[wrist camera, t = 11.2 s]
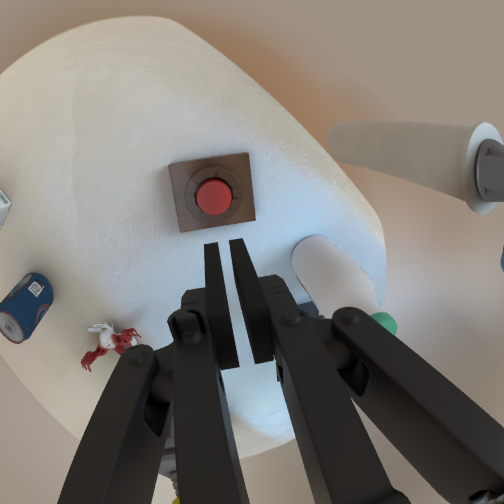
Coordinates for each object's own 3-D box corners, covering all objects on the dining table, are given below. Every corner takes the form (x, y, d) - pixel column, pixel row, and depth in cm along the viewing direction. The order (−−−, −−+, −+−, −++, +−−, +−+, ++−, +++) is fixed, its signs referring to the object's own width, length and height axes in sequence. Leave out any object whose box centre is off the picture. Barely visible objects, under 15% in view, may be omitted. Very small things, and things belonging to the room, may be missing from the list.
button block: (246, 151, 34) (251, 153, 31) (252, 216, 38) (258, 224, 34) (170, 163, 33) (166, 166, 29) (181, 227, 37) (179, 237, 33)
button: (228, 176, 32) (229, 178, 30) (232, 208, 33) (233, 212, 32) (194, 181, 31) (194, 184, 30) (199, 213, 33) (199, 217, 31)
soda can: (47, 310, 38) (20, 353, 27) (21, 285, 35) (-11, 324, 24) (61, 288, 37) (31, 332, 26) (33, 261, 34) (-3, 299, 23)
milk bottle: (280, 252, 41) (337, 340, 23) (322, 224, 40) (404, 292, 22) (302, 287, 44) (358, 375, 26) (341, 261, 44) (413, 336, 26)
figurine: (115, 369, 45) (109, 394, 39) (73, 331, 40) (61, 355, 34) (169, 341, 44) (167, 368, 38) (123, 294, 39) (113, 319, 33)
